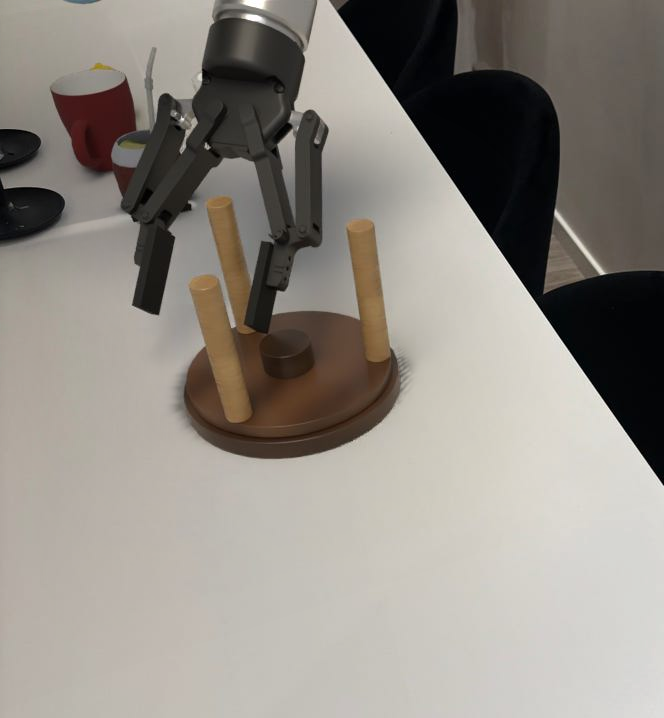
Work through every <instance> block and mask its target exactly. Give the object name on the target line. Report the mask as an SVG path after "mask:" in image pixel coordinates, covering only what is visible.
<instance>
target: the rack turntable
mask: <svg viewBox="0 0 664 718" xmlns="http://www.w3.org/2000/svg"><path fill="white" fill-rule="evenodd" d="M204 204H205V208H206V212H207V213H206V214H207V216H208V221H209V225H210V229H211V232H212V235H213V236H212V237H213V240H214V244H215V249H216V252H217V256H218V260H219V264H220V268H221V269H220V270H221V273H222V276H223V280H224V284H225V288H226V292H227V296H228V301H229V304H230V308H231V313H232V316H233V321H234V323H235V326H234V327H232V325H231V321H230V317H229V313H228V311H227V310H228V309H227V305H226V302H225V301H226V300H225V297H224V294H223V289H222V285H221V282H220V279H219V277H217V276H216V275H214V274H201V275H197V276H195V277H193V278H192V279H190V281H189V282H188V289H189V292H190V295H191V299H192V302H193V306H194V310H195V313H196V317H197V320H198V324H199V328H200V331H201V335H202V339H203V342H204V346H203V347H202V348H201V349H200V350H199V352H197V354H196V355H195V357H194V358H193V359H192V360H191V363H190V364H189V367H188V369H187V372H186V379H185V383H186V385H187V390H188V393H189V397H190V400H191V403H192V405H193V407H194V409H195V410H196V411H197V412H198V414H199V415H200V416H201V417H203V418H204V419H205V420H206V421H207V422H209V423H211V424H212V425H214V426H216V427H218V428H220V429H223V430H225V431H228V432H232V433H235V434H240V435H245V436H252V437H289V436H296V435H303V434H308V433H312V432H316V431H320V430H323V429H326V428H329V427H332V426H335V425H337V424H339V423H342V422H344V421H346V420H348V419H350V418H352V417H354V416H355V415H357V414H359V413H360V412H362V411H363V410H365V409H366V408H367V407H368V406H370V405H371V404H372V403H373V402H374V401H375V400H376V399H377V398H378V397H379V396H380V395H381V394H382V392H383V391H384V389H385V388H386V386H387V384H388V382H389V380H390V377H391V372H392V360H391V352H390V347H391V346H390V344H391V343H390V337H389V336H390V335H389V330H388V321H387V313H386V305H385V298H384V290H383V284H382V283H383V282H382V275H381V267H380V258H379V250H378V242H377V234H376V227H375V223H374V221H373V220H371V219H368V218H357V219H353V220H351V221H349V222H348V223H347V224H346V226H345V228H346V235H347V243H348V248H349V255H350V261H351V262H350V263H351V269H352V276H353V283H354V288H355V289H354V290H355V295H356V303H357V310H358V314H359V315H358V316H359V319H358V318H356V317H354V316H351V315H347V314H342V313H338V312H331V311H323V310H322V311H321V310H297V311H287V312H286V311H285V312H280V313H275V314H272V318H271V322H270V327H269V332H268V334H264V333H259V332H257V331H255V330H253V329H251V328H250V327H248V326H246V325H244V320H245V315H246V310H247V306H248V301H249V296H250V292H251V287H252V280H251V276H250V271H249V267H248V263H247V258H246V253H245V249H244V245H243V241H242V237H241V233H240V229H239V225H238V224H239V223H238V220H237V215H236V211H235V207H234V202H233V199H232V198H231V197H229V196H227V195H217V196H214V197H211V198H208V199H207V200H206V201H205V203H204Z"/></svg>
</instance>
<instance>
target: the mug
mask: <svg viewBox="0 0 664 718" xmlns="http://www.w3.org/2000/svg"><path fill="white" fill-rule="evenodd" d="M49 90H50V93H51V97H52V100H53V103H54V106H55V109H56V112H57V114H58V116H59V119H60V121H61V122H62V125H63V126H64V128H65V131H66V133H67V134H68V136H69V138H70V139H71V140H70V142H71V147H72V148H71V149H72V151H73V154H74V157H75V159H76V160H77V162H78V163H79V164H80V165H82V166H83V167H86V168H90V169H92V170H93V171H97V172H112V171H113V166H112V157H111V153H112V149H113V146H114V144H115V142H116V141H117V140H118V138H120V137H122V136H123V135H125V134H128V133H131V132H134V131H138V128H137V119H136V110H135V105H134V104H135V102H134V98H133V95H132V91H131V88H130V84H129V81H128V78H127V75H126V73H124V72H122V71H120V70H116V69H115V70H109V69H97V70H90V69H88V70H82V71H77V72H74V73H73V72H72V73H71V74H67V75H65V76H62V77H60V78H58V79H56V80H55V81H53V82H52V83H51V85H50V86H49ZM113 172H114V171H113Z"/></svg>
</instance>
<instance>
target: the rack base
mask: <svg viewBox="0 0 664 718" xmlns="http://www.w3.org/2000/svg"><path fill="white" fill-rule="evenodd" d="M390 352H391V360H392V372H391V377H390V380H389V382H388V384H387V386H386V388H385V389H384V391H383V392H382V394H381V395H380V396H379V397H378V398H377V399H376V400H375V401H374V402H373V403H372V404H371V405H370V406H368V407H367V408H366V409H365V410H363V411H362V412H360V413H359V414H357V415H355V416H354V417H352V418H350V419H348V420H346V421H344V422H342V423H339V424H337V425H335V426H332V427H329V428H326V429H323V430H320V431H316V432H312V433H308V434H303V435H296V436H289V437H252V436H245V435H240V434H235V433H232V432H228V431H225V430H223V429H220V428H218V427H216V426H214V425H212V424H211V423H209V422H207V421H206V420H205V419H204V418H203V417H201V416H200V415H199V414H198V412H197V411H196V410H195V409H194V407H193V405H192V403H191V400H190V397H189V393H188V390H187V385H186V382H185V383H184V386H183V402H184V406H185V409H186V413H187V417H188V419H189V421H190V423H191V426H192V427H193V429H194V430H195V432H196V433H197V434H198V435H199V436H200V437H201V438H202V439H204V440H205V441H206V442H207V443H209V444H211V445H212V446H214V447H215V448H218V449H220V450H222V451H225V452H228V453H231V454H235V455H239V456H243V457H248V458H256V459H273V460H274V459H290V458H291V459H292V458H298V457H299V458H300V457H306V456H310V455H314V454H320V453H323V452H326V451H330V450H333V449H335V448H339V447H340V446H343V445H345V444H348V443H350V442H352V441H354V440H356V439H357V438H359V437H361V436H363V435H364V434H366V433H368V432H369V431H370V430H372V429H374V428H375V427H376V426H377V425H378V424H379V423H380V422H382V421H383V420H384V418H385V417H387V415H388V414H389V413H390V411H391V410H392V408H393V407H394V405H395V403H397V402H396V401H397V399H398V397H399V393H400V389H401V375H400V366H399V362H398V358H397V356H396V353H395V351H394V350H393V348H392V347H391V346H390Z"/></svg>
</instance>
